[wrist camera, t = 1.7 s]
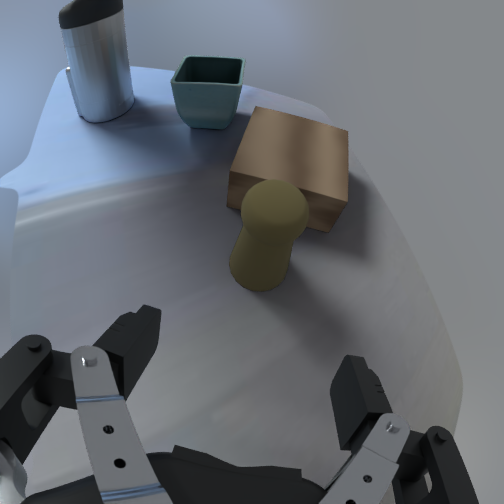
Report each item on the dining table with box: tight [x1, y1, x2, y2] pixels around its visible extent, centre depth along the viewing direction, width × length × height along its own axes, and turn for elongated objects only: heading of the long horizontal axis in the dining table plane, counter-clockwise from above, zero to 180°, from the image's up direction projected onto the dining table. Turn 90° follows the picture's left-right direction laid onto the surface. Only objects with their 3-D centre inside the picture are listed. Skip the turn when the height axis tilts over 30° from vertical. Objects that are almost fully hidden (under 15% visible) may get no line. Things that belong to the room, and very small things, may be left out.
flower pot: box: [171, 56, 246, 129], centre depth 37 cm, size 9×9×9 cm
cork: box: [229, 179, 309, 292], centre depth 26 cm, size 6×6×11 cm
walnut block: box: [227, 106, 348, 233], centre depth 34 cm, size 12×12×6 cm
